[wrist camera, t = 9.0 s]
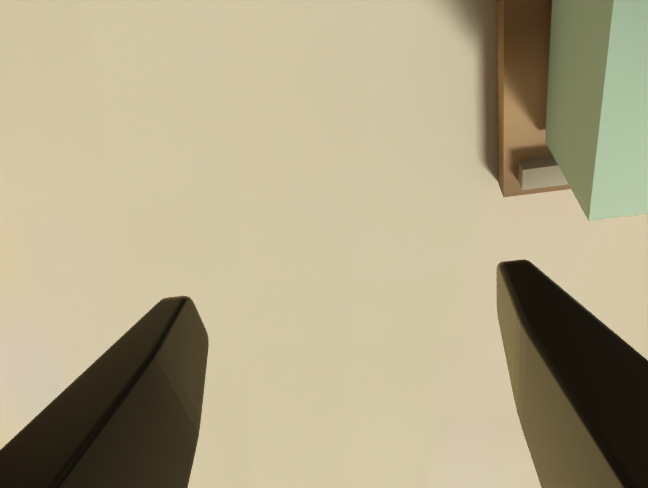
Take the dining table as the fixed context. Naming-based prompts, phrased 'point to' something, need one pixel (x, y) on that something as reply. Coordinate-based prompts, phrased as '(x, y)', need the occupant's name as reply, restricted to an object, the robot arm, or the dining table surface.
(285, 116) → the dining table surface
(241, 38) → the dining table surface
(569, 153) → the sliding jaw
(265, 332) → the dining table surface
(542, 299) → the robot arm
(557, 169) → the vise base
